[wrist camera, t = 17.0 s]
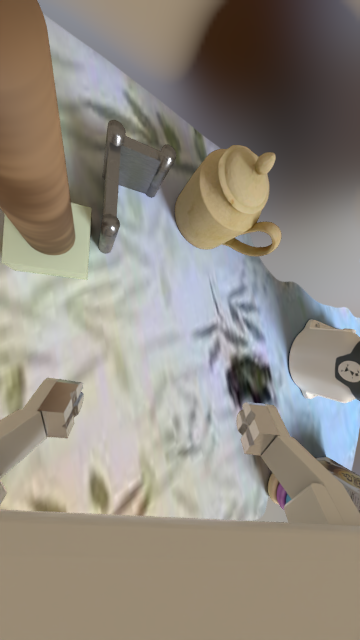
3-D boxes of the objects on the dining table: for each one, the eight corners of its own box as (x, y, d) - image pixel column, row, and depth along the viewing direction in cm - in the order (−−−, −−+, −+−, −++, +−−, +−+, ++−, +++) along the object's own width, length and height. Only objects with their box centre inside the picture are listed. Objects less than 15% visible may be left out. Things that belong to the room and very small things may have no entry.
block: (91, 222, 27) (91, 207, 24) (87, 279, 27) (87, 274, 24) (18, 204, 24) (6, 184, 20) (14, 270, 24) (1, 262, 20)
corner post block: (156, 187, 31) (176, 148, 24) (151, 262, 31) (170, 245, 24) (103, 168, 28) (108, 116, 21) (97, 251, 28) (101, 229, 21)
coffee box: (326, 455, 52) (421, 510, 37) (323, 481, 51) (417, 547, 37) (305, 457, 48) (400, 519, 33) (301, 485, 47) (395, 560, 33)
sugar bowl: (248, 218, 39) (333, 165, 26) (234, 269, 38) (315, 242, 24) (184, 172, 33) (251, 72, 20) (165, 231, 32) (221, 167, 18)
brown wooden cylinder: (76, 216, 23) (52, -25, 7) (74, 259, 23) (43, 118, 7) (23, 203, 21) (-196, -193, 5) (20, 250, 21) (-213, 13, 5)
